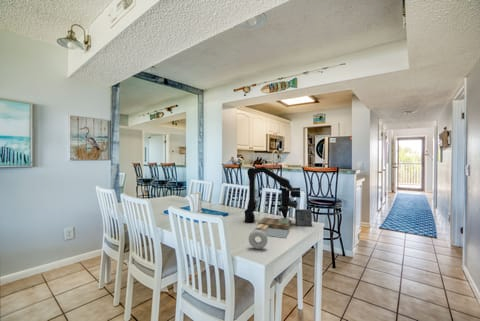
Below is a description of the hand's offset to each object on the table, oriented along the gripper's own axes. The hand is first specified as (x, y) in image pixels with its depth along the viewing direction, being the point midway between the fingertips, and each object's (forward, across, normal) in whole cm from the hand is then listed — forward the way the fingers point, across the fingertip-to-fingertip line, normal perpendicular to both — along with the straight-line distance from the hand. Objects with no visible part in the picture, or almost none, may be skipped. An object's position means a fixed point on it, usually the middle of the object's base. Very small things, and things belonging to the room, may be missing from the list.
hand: (285, 218), depth 162 cm
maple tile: (+4, -16, +12) cm, 21 cm away
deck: (+4, -5, +6) cm, 9 cm away
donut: (+4, -47, +6) cm, 48 cm away
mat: (+4, -20, +6) cm, 22 cm away
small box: (+4, +4, -12) cm, 13 cm away
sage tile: (+1, -5, 0) cm, 5 cm away
